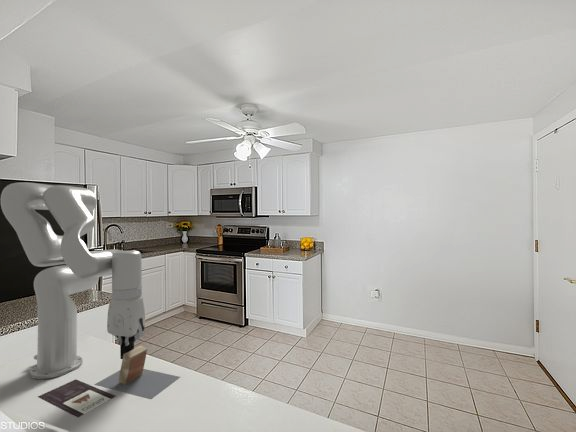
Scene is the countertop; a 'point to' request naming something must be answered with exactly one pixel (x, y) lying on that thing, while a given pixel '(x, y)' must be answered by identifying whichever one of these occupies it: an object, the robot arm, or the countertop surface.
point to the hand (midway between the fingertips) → (127, 357)
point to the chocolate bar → (76, 397)
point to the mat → (141, 383)
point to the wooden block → (132, 364)
